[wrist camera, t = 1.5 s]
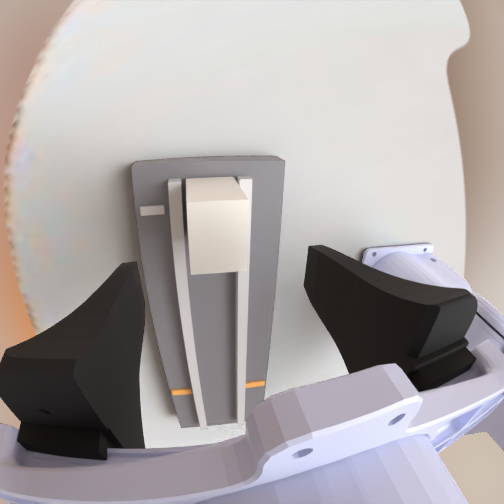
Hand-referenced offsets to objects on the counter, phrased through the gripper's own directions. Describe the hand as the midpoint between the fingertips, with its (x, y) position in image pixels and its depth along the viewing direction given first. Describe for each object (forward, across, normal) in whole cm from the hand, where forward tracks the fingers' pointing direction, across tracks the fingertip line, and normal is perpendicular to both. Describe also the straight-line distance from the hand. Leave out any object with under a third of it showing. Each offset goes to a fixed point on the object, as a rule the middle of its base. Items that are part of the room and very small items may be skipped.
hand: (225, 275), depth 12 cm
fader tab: (+8, 0, 0) cm, 8 cm away
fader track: (+10, 0, +12) cm, 16 cm away
